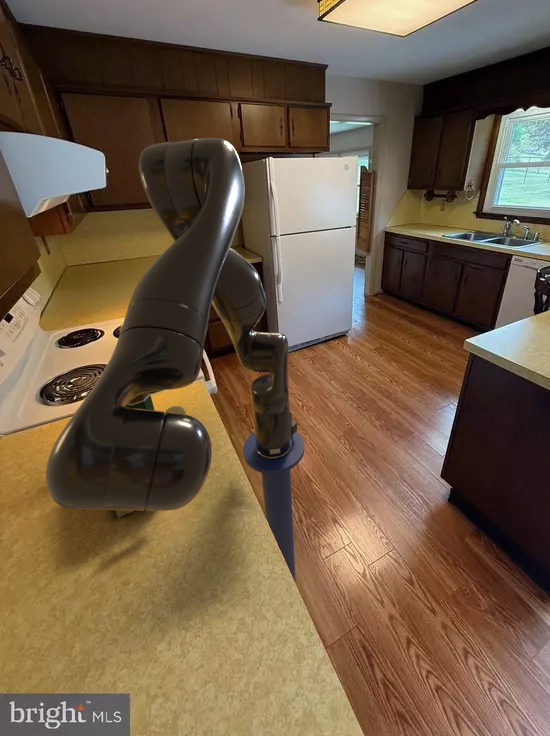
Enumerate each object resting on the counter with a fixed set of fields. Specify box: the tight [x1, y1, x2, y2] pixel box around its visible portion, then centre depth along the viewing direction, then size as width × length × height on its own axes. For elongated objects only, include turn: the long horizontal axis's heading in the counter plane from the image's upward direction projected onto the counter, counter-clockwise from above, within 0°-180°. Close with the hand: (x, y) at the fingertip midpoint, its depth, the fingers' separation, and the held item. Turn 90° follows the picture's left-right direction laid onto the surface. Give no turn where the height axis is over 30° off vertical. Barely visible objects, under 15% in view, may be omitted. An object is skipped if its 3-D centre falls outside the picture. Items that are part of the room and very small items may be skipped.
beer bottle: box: [126, 392, 156, 411], centre depth 91 cm, size 8×8×24 cm
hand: (139, 476), depth 51 cm, fingers open, 8 cm apart
